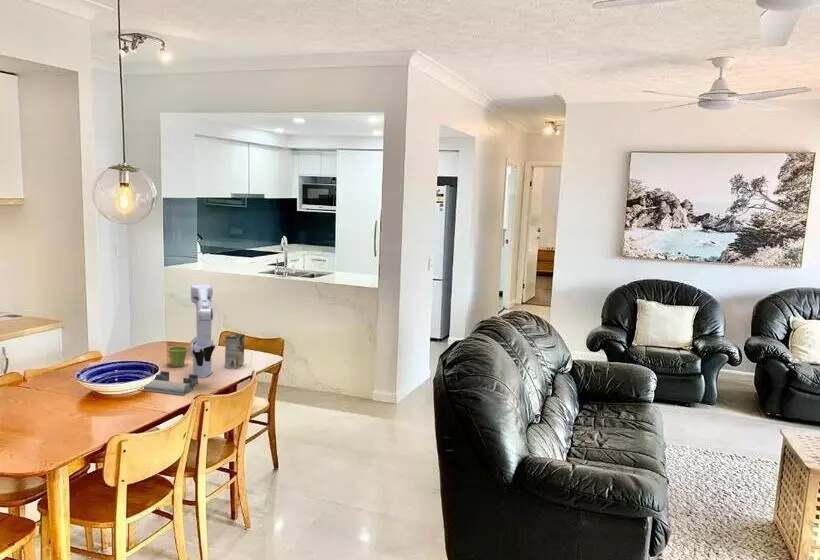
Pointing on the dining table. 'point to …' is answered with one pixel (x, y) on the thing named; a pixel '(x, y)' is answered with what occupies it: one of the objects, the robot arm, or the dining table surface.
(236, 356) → the coffee box
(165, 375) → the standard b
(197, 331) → the robot arm
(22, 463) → the dining table surface
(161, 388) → the rail
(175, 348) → the plant pot
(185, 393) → the mat
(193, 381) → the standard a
